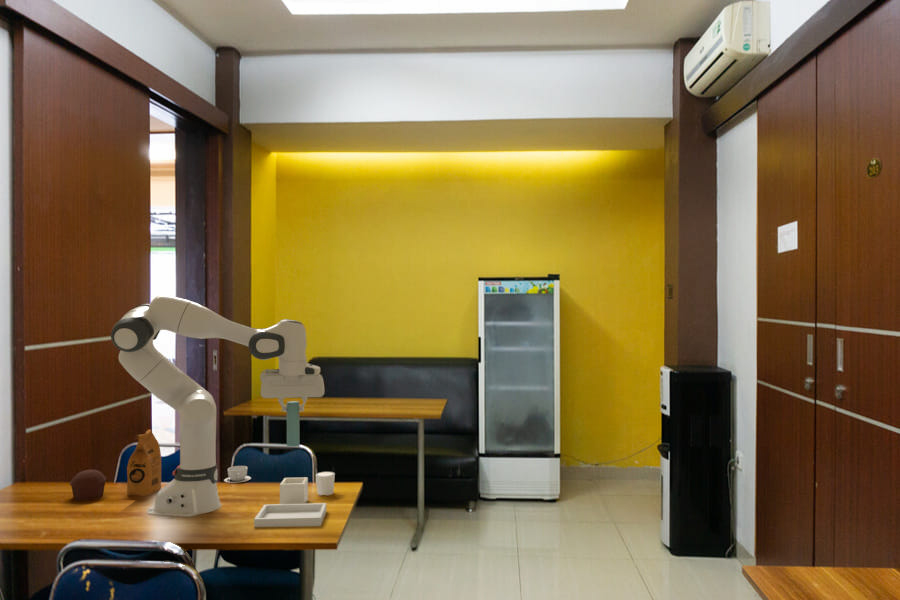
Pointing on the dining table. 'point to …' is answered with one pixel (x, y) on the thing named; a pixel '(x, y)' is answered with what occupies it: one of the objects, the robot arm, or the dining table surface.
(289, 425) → the dowel
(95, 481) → the muffin
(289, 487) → the deep box
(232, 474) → the teacup
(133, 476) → the coffee package
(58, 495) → the dining table surface
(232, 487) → the dining table surface
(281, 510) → the tray
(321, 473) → the tan cylinder
